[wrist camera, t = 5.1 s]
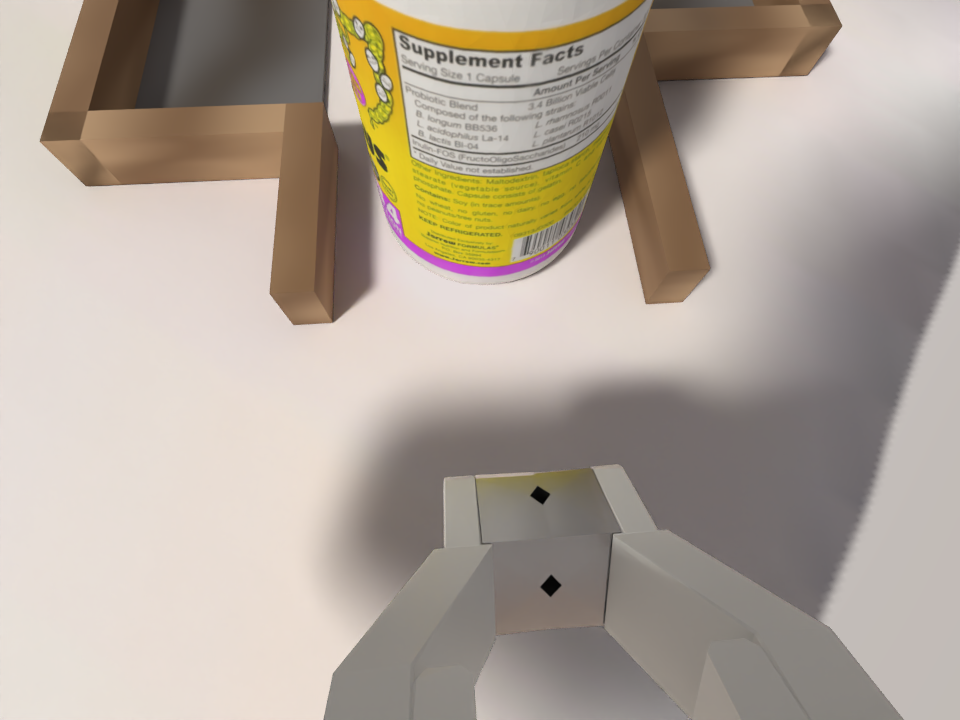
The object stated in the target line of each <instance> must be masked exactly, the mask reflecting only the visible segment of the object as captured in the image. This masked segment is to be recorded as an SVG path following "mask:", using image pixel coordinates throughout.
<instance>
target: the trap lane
mask: <svg viewBox="0 0 960 720" xmlns="http://www.w3.org/2000/svg"><path fill="white" fill-rule="evenodd" d="M328 5H329V0H84V2H83V5H82V8H81V11H80V14H79V17H78V21H77V24H76V27H75V30H74V33H73V37H72V40H71V43H70V46H69V49H68V53H67V56H66V59H65V62H64V65H63V68H62V72H61V75H60V78H59V81H58V84H57V88H56V91H55V94H54V97H53V100H52V104H51V107H50V110H49V113H48V116H47V119H46V123H45V126H44V129H43V132H42V135H41V139H40V142H41V143H42V144H43V145H44V146H45V147H46V148H47V149H48V150H49V151H50V152H51V153H52V154H53V155H54V156H55V157H56V158H57V159H58V160H59V161H60V162H61V163H62V164H64V165H65V166H66V167H67V168H68V169H69V170H70V171H71V172H72V173H73V174H74V175H75V176H76V177H77V178H78V179H79V180H80V181H81V182H82V183H83V184H84V185H85V186H101V185H123V184H146V183H168V182H191V181H213V180H236V179H258V178H279V190H278V201H277V213H276V225H275V236H274V248H273V260H272V271H271V283H270V295H271V296H272V297H273V299H274V300H275V301H276V303H277V304H278V305H279V307H280V308H281V309H282V311H283V312H284V313H285V315H286V316H287V317H288V318H289V320H290V321H291V322H292V324H293V325H301V324H318V323H332V321H333V290H334V260H335V230H336V200H337V169H338V147H337V143H336V140H335V137H334V134H333V131H332V128H331V125H330V122H329V118H328V115H327V112H326V109H325V106H324V87H325V66H326V46H327V25H328ZM841 27H842V24H841V22H840V20H839V18H838V16H837V14H836V12H835V10H834V8H833V6H832V4H831V2H830V0H653V3H652V6H651V9H650V12H649V15H648V18H647V21H646V24H645V27H644V30H643V33H642V36H641V39H640V42H639V45H638V48H637V51H636V54H635V56H634V59H633V62H632V65H631V68H630V71H629V74H628V77H627V80H626V83H625V86H624V89H623V92H622V95H621V98H620V101H619V104H618V107H617V110H616V113H615V116H614V119H613V122H612V125H611V128H610V131H609V134H608V135H609V140H610V144H611V149H612V153H613V158H614V162H615V167H616V171H617V176H618V180H619V185H620V189H621V194H622V198H623V203H624V207H625V212H626V217H627V221H628V226H629V230H630V235H631V239H632V244H633V248H634V253H635V257H636V262H637V266H638V271H639V275H640V280H641V284H642V289H643V293H644V298H645V302H646V304H657V303H674V302H683V301H684V299H685V298H686V297H687V296H688V295H689V294H690V292H691V291H692V290H693V289H694V288H695V287H696V285H697V284H698V283H699V282H700V281H701V280H702V278H703V277H704V276H705V275H706V274H707V273H708V271H709V270H710V266H709V262H708V259H707V255H706V252H705V248H704V245H703V241H702V237H701V234H700V230H699V227H698V223H697V220H696V216H695V213H694V209H693V206H692V202H691V199H690V195H689V191H688V188H687V184H686V181H685V177H684V174H683V170H682V167H681V163H680V160H679V156H678V153H677V149H676V145H675V142H674V138H673V135H672V131H671V128H670V124H669V121H668V117H667V114H666V110H665V107H664V103H663V99H662V96H661V92H660V89H659V85H658V82H657V81H659V80H687V79H715V78H743V77H770V76H798V75H808V74H809V72H810V71H811V69H812V68H813V67H814V65H815V64H816V62H817V61H818V60H819V58H820V57H821V55H822V54H823V52H824V51H825V50H826V48H827V47H828V45H829V44H830V43H831V41H832V40H833V38H834V37H835V36H836V34H837V33H838V31H839V30H840V29H841Z"/></svg>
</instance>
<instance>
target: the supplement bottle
mask: <svg viewBox="0 0 960 720" xmlns="http://www.w3.org/2000/svg"><path fill="white" fill-rule="evenodd" d="M331 2H332V6H333V10H334V14H335V18H336V22H337V26H338V30H339V34H340V38H341V42H342V46H343V50H344V53H345V57H346V61H347V66H348V70H349V74H350V78H351V82H352V88H353V91H354V95H355V98H356V102H357V105H358V109H359V114H360V117H361V121H362V125H363V130H364V135H365V139H366V143H367V147H368V151H369V155H370V158H371V162H372V166H373V170H374V174H375V178H376V182H377V186H378V190H379V194H380V198H381V201H382V205H383V208H384V212H385V215H386V218H387V221H388V224H389V227H390V229H391V231H392V233H393V235H394V237H395V238H396V240H397V242H398V243H399V244H400V246H401V247H402V248H403V250H404V251H405V252H406V253H407V254H408V255H409V256H410V257H411V258H412V259H413V260H414V261H416V262H417V263H418V264H420V265H421V266H423V267H424V268H425V269H427V270H428V271H430V272H432V273H434V274H436V275H439V276H441V277H443V278H446V279H449V280H452V281H455V282H459V283H464V284H478V285H490V284H500V283H507V282H511V281H515V280H518V279H521V278H524V277H526V276H529V275H531V274H533V273H535V272H537V271H539V270H540V269H542V268H543V267H545V266H546V265H547V264H549V263H550V262H551V261H553V260H554V259H555V258H556V257H557V256H558V255H559V254H560V253H561V252H562V251H563V249H564V248H565V247H566V245H567V244H568V243H569V241H570V239H571V238H572V236H573V234H574V232H575V230H576V227H577V225H578V222H579V220H580V217H581V215H582V212H583V209H584V206H585V203H586V200H587V197H588V194H589V191H590V188H591V185H592V182H593V179H594V176H595V173H596V170H597V167H598V164H599V161H600V158H601V155H602V152H603V149H604V146H605V143H606V140H607V137H608V134H609V131H610V128H611V125H612V122H613V119H614V116H615V113H616V110H617V107H618V104H619V101H620V98H621V95H622V92H623V89H624V86H625V83H626V80H627V77H628V74H629V71H630V68H631V65H632V62H633V59H634V56H635V54H636V51H637V48H638V45H639V42H640V39H641V36H642V33H643V30H644V27H645V24H646V21H647V18H648V15H649V12H650V9H651V6H652V3H653V0H331Z"/></svg>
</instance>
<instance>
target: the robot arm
mask: <svg viewBox="0 0 960 720" xmlns="http://www.w3.org/2000/svg"><path fill="white" fill-rule="evenodd" d="M443 498H444V548H439V549H434V550H433V551H432V553H431V554H430V555H429V556H428V558H427V559H426V560H425V561H424V562H423V564H422V565H421V566H420V567H419V569H418V570H417V571H416V572H415V573H414V575H413V576H412V577H411V578H410V580H409V581H408V582H407V583H406V585H405V586H404V587H403V588H402V589H401V591H400V592H399V593H398V594H397V596H396V597H395V598H394V599H393V600H392V602H391V603H390V604H389V605H388V607H387V608H386V609H385V610H384V612H383V613H382V614H381V615H380V616H379V618H378V619H377V620H376V621H375V623H374V624H373V625H372V626H371V627H370V629H369V630H368V631H367V632H366V634H365V635H364V636H363V637H362V639H361V640H360V641H359V642H358V643H357V645H356V646H355V647H354V648H353V650H352V651H351V652H350V653H349V654H348V656H347V657H346V658H345V659H344V661H343V662H342V663H341V664H340V666H339V667H338V668H337V669H336V670H335V672H334V673H333V676H332V681H331V686H330V691H329V696H328V700H327V705H326V710H325V715H324V720H477V719H476V705H475V691H474V686H475V684H476V682H477V679H478V677H479V675H480V673H481V671H482V668H483V666H484V664H485V662H486V660H487V658H488V655H489V653H490V651H491V649H492V647H493V644H494V642H495V640H496V636H497V635H505V634H513V633H521V632H530V631H538V630H546V629H549V628H550V629H560V628H576V627H592V626H604V629H605V630H606V631H607V632H608V633H609V634H610V635H611V636H612V637H613V638H614V639H615V640H616V641H617V642H618V644H619V645H620V646H621V647H622V648H623V649H624V650H625V651H626V652H627V653H628V654H629V655H630V656H631V657H632V658H633V659H634V660H635V661H636V662H637V663H638V664H639V666H640V667H641V668H642V669H643V670H644V671H645V672H646V673H647V674H648V675H649V676H650V677H651V678H652V679H653V680H654V681H655V682H656V683H657V684H658V685H659V686H660V687H661V689H662V690H663V691H664V692H665V693H666V694H667V695H668V696H669V697H670V698H671V699H672V700H673V701H674V702H675V703H676V704H677V705H678V706H679V707H680V708H681V709H682V711H683V712H684V713H685V714H686V715H687V716H688V717H689V718H690V719H691V720H903V718H902V717H901V716H900V714H899V713H898V712H897V711H896V709H895V708H894V707H893V706H892V704H891V703H890V702H889V701H888V700H887V698H886V697H885V696H884V694H883V693H882V692H881V691H880V689H879V688H878V687H877V686H876V684H875V683H874V682H873V681H872V680H871V678H870V677H869V676H868V674H867V673H866V672H865V671H864V669H863V668H862V667H861V666H860V664H859V663H858V662H857V661H856V660H855V658H854V657H853V656H852V654H851V653H850V652H849V651H848V650H847V648H846V647H845V646H844V645H843V643H842V642H841V641H840V639H839V638H838V637H837V636H836V634H835V633H834V632H833V631H832V629H831V628H830V627H828V626H826V625H825V624H823V623H821V622H820V621H818V620H816V619H815V618H813V617H811V616H810V615H808V614H806V613H805V612H803V611H802V610H800V609H798V608H797V607H795V606H793V605H792V604H790V603H788V602H787V601H785V600H783V599H782V598H780V597H778V596H777V595H775V594H773V593H772V592H770V591H768V590H767V589H765V588H763V587H762V586H760V585H759V584H757V583H755V582H754V581H752V580H750V579H749V578H747V577H745V576H744V575H742V574H740V573H739V572H737V571H735V570H734V569H732V568H730V567H729V566H727V565H725V564H724V563H722V562H721V561H719V560H717V559H716V558H714V557H712V556H711V555H709V554H707V553H706V552H704V551H702V550H701V549H699V548H697V547H696V546H694V545H692V544H691V543H689V542H687V541H686V540H684V539H683V538H681V537H679V536H678V535H676V534H674V533H673V532H671V531H669V530H658V528H657V526H656V525H655V523H654V521H653V519H652V518H651V516H650V514H649V512H648V511H647V509H646V507H645V505H644V504H643V502H642V500H641V498H640V497H639V495H638V493H637V491H636V490H635V488H634V486H633V484H632V483H631V481H630V479H629V477H628V476H627V474H626V472H625V470H624V469H623V467H622V466H620V465H619V464H613V465H603V466H594V467H589V468H583V469H571V470H558V471H545V472H523V473H504V474H486V475H475V478H474V476H473V475H470V476H455V477H445V478H444V482H443Z"/></svg>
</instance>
